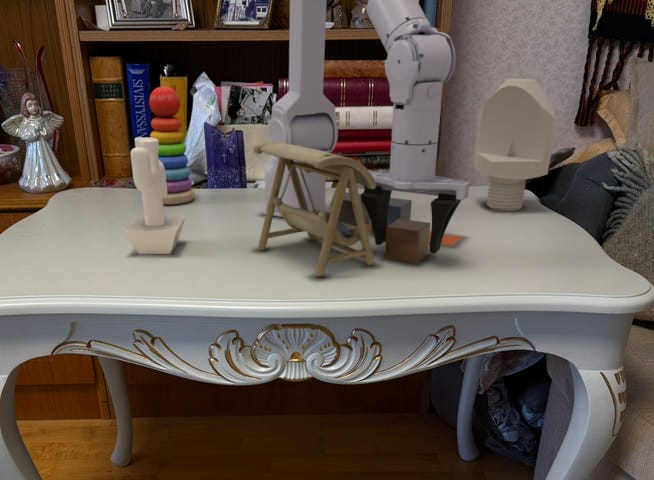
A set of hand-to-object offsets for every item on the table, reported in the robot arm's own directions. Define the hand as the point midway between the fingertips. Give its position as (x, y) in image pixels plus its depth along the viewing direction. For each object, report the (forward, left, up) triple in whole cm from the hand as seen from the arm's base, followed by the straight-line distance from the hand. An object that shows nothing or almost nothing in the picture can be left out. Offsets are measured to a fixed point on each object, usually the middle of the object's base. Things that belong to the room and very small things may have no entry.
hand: (407, 247), depth 89 cm
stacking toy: (-48, +10, -2) cm, 49 cm away
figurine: (-32, -13, -2) cm, 35 cm away
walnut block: (0, 0, -2) cm, 2 cm away
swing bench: (-11, -6, -2) cm, 13 cm away
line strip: (-7, +10, -1) cm, 12 cm away
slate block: (-6, +10, -1) cm, 12 cm away
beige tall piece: (+5, +33, -2) cm, 33 cm away
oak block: (-13, +10, -1) cm, 16 cm away
